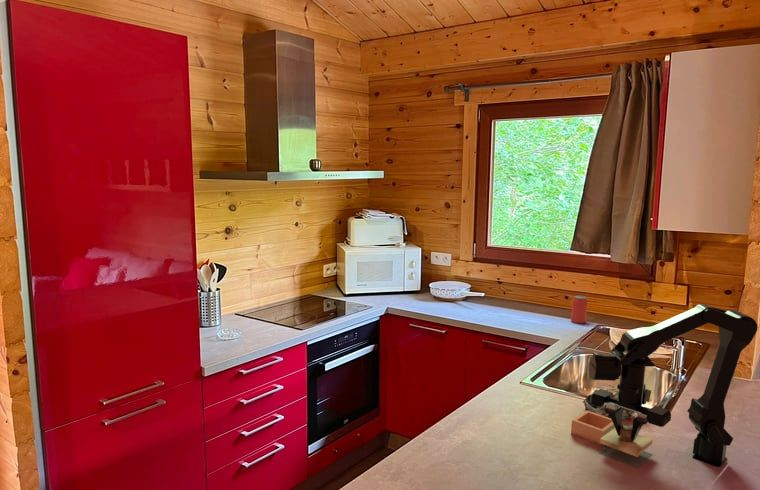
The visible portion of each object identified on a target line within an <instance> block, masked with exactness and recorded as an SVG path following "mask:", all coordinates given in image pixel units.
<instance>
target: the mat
mask: <svg viewBox="0 0 760 490" xmlns="http://www.w3.org/2000/svg"><path fill="white" fill-rule="evenodd" d="M598 454H599V455H602V456H604V457H608V458H610V459H613V460H615V461H616V462H620V463H623V464H625V465H628V466H630V467H633V468H635V469H639V467H640V466H642V465H643V464H644V463H645V462H646V461H647V460H648V459H649V458H650V457H651V456H653V453H651V452H647V451H646V450H645V451H643V452H642V453H641V454H640V455H639V456H638V457H636V456H633V455H630V454H628V453H625V452H622V451H620V450H617V449H614V448H612V447H609V446H607V445H606V446H605V447H604V448H603V449H602V450H600V451H599V452H598Z"/></svg>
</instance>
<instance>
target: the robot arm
mask: <svg viewBox="0 0 760 490" xmlns="http://www.w3.org/2000/svg"><path fill="white" fill-rule="evenodd" d="M707 324H711V325H714V326H716V327H718V337H719V346H718V350H717V352H716V355H715V357H714V358H715V359H714V361H713V364H712V367H711V370H710V373H709V376H708V380H707V383H706V385H705V389H704V390H703V394H702V395H701V396H700V397H698V398H695V397H693V398H691V401H690V405H689V408H688V409H687V410H686V411H687V413H688V419H689V421H690V422H691V423H692V424H693V425H694V428H695V430H696V431H698V433H697V435H696V437H695V438H694V439H693V440H694V441H693V449H692V454H693V455H692V459H693V460H697V461H699V462H702V463H706V464H707V465H711V466H713V467H716V468H721V467H722V466H723V465H724V463H725V462H727V460H728V458H727V456H726V453H727V446H731V444H732V442H733V440H734V437H733V436H732V435H731V434H730V433H729V432H728V431H727V430H726V429H725V424H726V411H725V401H726V398H727V394H728V391H729V388H730V386H731V384H732V380H733V377H734V374H735V372H736V368H737V366H738V363H739V359H740V358H741V357H740V356H741V354H742V351H743V350H744V349H745V348H747V347H748V346H749V345H750V344H751V343H752V341H753V339H754V338H755V336H756V334H757V332H758V329H759V326H758V324H757V322H756V320H755V319H754V318H753V317H751V316H749V315H748V314H745V313H743V312H741V311H739V310H737V309H729V310H724V309H723V308H722V309H721V308H719V307H718V308H717V307H714V306H709V304H706V303H700V304H699V303H698V304H697V305H696V306H695V307H692V308H691V309H689V310H687V311H684V312H682V313H680V314H677V315H674V316H672V317H670V318H668V319H665V320H664V321H661V322H659V323H656V324H655V325H651V326H646V327H644V326H643V327H637V328H633V329H630V330H629V329H628V330H626V331H625V332H623V333H622V334H621V337H620V339H619V341H618V343H616V344H615V345H614V347H613V348H612V349H611V350H610V353H600V352H593V353H592V357H591V358H590V360H589V362H588V372H589V377H590V379H591V380H592V381H614V382H615V381H616V380H619V383H618V384H616V385H617V386H616V390H617V389H619V393H618V399H617V398H614V394H615V393H614V391H610V390H608V391H606V390H607V389H604V390H603V388H599V389H597V390H598V391H596V392H595V391H593V393H592V394H590V395H591V397H590V403H591V404H593V405H596V406H599V407H601V406H603V405H604V403H606V404H607V406H606V409H605V412H608V414H609V416H610V418H611V420H612V422H613V424H614V426H615V429H616V431H617V434H618V436H620V429H621V426H623V418H622V415H623V411H624V409H626V410H629V411H633V412H634V413H635V414H636V415H637V416H636V417H634V418H633V419H632V426H631V427H632V441H634V440H635V439H636V437H637V435H639V433H640V431H641V428H642V427H643V426H644V425H646V424H648V423H649V424H650V425H653V426H657V427H659V428H664V427H665V426H666V425H667V424H669V423H670V422H671V419H672V413H671V411H670V409H667V408H664V407H660V406H657V405H654V406H652V408H650V407H647V406H643V405H645V404H647V403H650V400H651V394H652V390H650V389H647V388H646V384H645V376H646V367H647V368H648V367H651V368H654V367H655V366H656V364H655V363H654V362H653V361H651V358H650V356H651V354H653V353H655V352H657V350H658V349H659V348H660V347H661V346H662V345H664V344H665V343H666V342H669V341H670V340H673V339H675V338H678V337H679V336H682V335H684V334H687V333H689V332H691V331H694V330H697V329H698V328H700V327H702V326H705V325H707ZM625 352H626V353H625Z"/></svg>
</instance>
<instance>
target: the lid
mask: <svg viewBox="0 0 760 490" xmlns="http://www.w3.org/2000/svg"><path fill="white" fill-rule="evenodd" d="M600 443H601V444H604V445H603V446H606V447H607V446H609V447H612V448H614V449H617V450H620V451H622V452H625V453H628V454H630V455H633V456H636V457H638V456H639V455H640V454H641V453H642V452H643V451H645V452H646V450H648V448H649V447H651V445H653V439H652V438H649V437H646V436H643V435H640V434H638V435H637V437H636V439H635V440H634V441H632V426H630V425H625V424H624V425H622V426H621V429H620V436H618V434H617V431H616V429H615V428H614V429H612V430H611V431H610V432H608V433H607V434H606V435H604V436H603V437H602V438H600Z"/></svg>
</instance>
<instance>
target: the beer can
mask: <svg viewBox="0 0 760 490" xmlns="http://www.w3.org/2000/svg"><path fill="white" fill-rule="evenodd" d="M587 309H588V299H587V297H586V296H584V295H577V294H576V295H574V296H573V299H572V303H571V314H570V320H571V322H572V323H574V324H580V325H581V324H585V323H586V322H587V313H588V312H587V311H588V310H587Z"/></svg>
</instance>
